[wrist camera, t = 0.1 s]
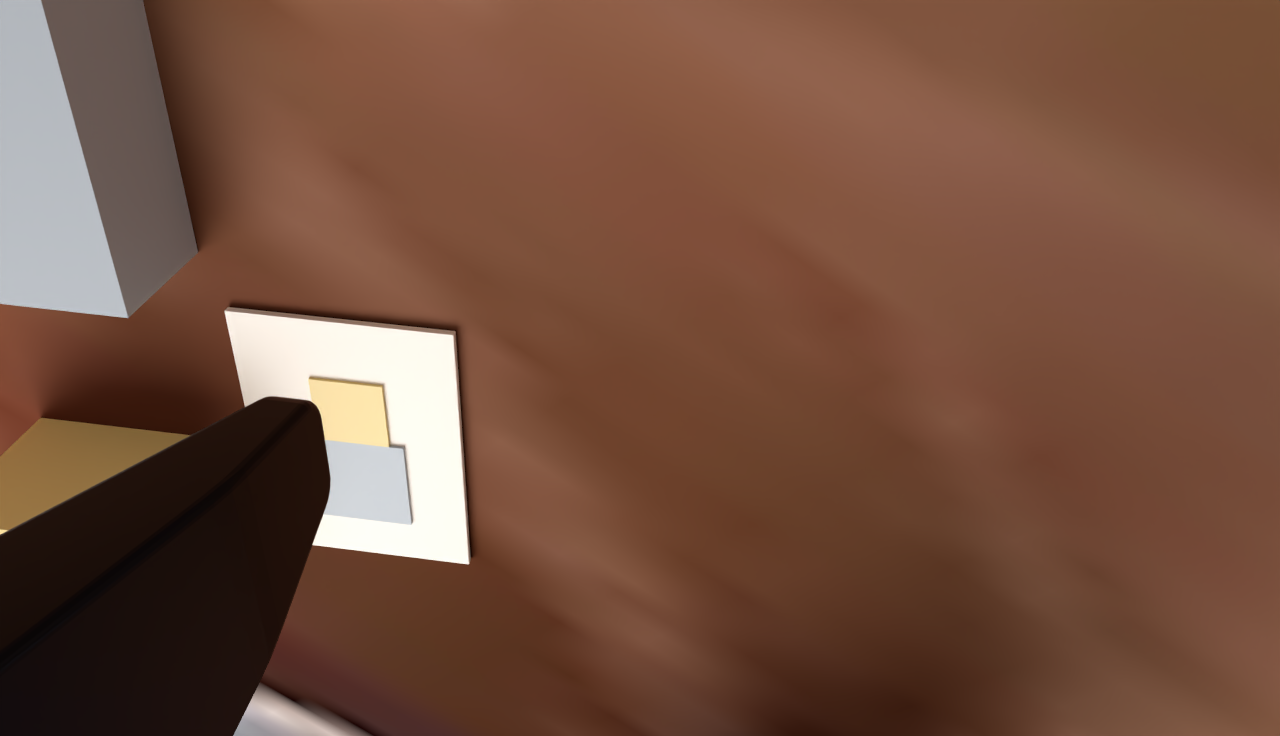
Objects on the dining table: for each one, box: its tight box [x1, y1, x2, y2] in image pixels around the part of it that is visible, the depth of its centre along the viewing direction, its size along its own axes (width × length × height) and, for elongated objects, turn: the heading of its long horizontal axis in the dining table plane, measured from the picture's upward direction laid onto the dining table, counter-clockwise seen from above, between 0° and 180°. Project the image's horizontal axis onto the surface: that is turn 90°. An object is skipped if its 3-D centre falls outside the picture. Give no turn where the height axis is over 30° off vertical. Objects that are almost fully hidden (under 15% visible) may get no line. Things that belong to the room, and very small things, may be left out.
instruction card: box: [225, 307, 471, 564], centre depth 28 cm, size 8×6×1 cm
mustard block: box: [0, 418, 190, 534], centre depth 29 cm, size 5×5×4 cm
